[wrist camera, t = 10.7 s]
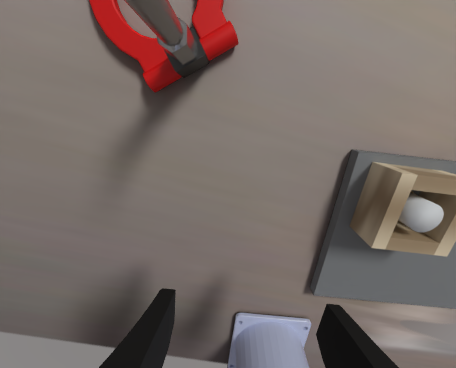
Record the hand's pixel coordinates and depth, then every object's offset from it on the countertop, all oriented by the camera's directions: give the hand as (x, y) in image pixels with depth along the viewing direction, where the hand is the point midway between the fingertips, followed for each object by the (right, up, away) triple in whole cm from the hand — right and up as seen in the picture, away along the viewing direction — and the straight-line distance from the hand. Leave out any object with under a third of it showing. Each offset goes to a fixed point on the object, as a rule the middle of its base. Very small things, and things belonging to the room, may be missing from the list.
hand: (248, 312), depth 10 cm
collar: (+12, +5, +7) cm, 15 cm away
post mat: (+16, +1, +9) cm, 19 cm away
